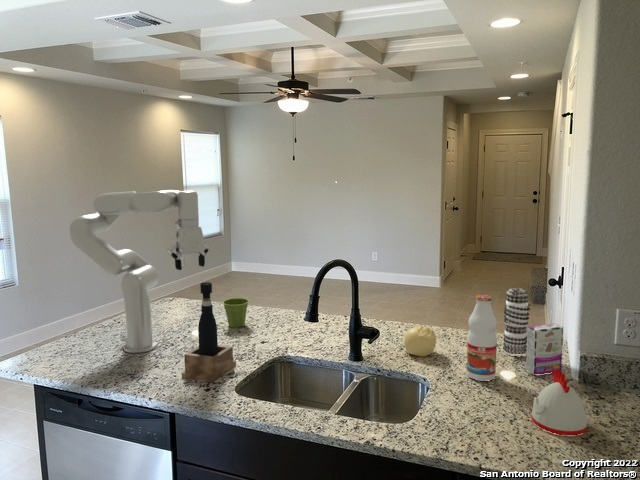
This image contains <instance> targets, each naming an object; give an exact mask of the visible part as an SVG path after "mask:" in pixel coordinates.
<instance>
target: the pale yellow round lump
mask: <svg viewBox="0 0 640 480" xmlns="http://www.w3.org/2000/svg"><path fill="white" fill-rule="evenodd" d="M436 339H437V337H436V334H435V330H433V329H432V328H430V327H427V326H424V325H421V324H420V325H419V326H414V327H412V328H410V329H408V330H407V332H406V333H405V335H404V338H403V345H404V348H405V351H406V352H407V353H408V354H409V355H413V356H418V357H427V355H428V356H429V355H430V354H432V353H434V350H435V348H436V344H437V340H436Z"/></svg>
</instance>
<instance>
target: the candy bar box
mask: <svg viewBox="0 0 640 480" xmlns="http://www.w3.org/2000/svg"><path fill="white" fill-rule="evenodd" d="M526 331H527V339H526V340H527V343H526V345H527V348H526V349H527V351H526V356H525V371H526V370H528V371H530V372H531V373H533V374H544V373H551V372H552V371H555V369H559V371H562V366H563V365H562V363H563V361H562V360H563V341H564V327H563V326H561V325H559V324H556V323H548V324H546V323H545V324H539V325H532V326H531V325H530V326H529V325H528V326H527V330H526Z"/></svg>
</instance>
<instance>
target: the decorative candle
mask: <svg viewBox="0 0 640 480" xmlns="http://www.w3.org/2000/svg"><path fill="white" fill-rule="evenodd" d="M505 293H506V300H505V305H504V306H503V309H504V310H503V313H504V316H503V317H504V319H503V322H504V324H505V328H504V333H503V337H504V338H502V339H503V342H502V345H503V346H502V351H503V350H504V351H506V352H508V353H510V354H524V353H526V351H527V327H529V322H528V320H530V317H529V316H530V313H529V311H530V310H531V308H530V306H531V304H530V303H529V295H530V294H529V292H527V290H526V289H525V288H522V287H521V288H520V287H511V288H509V289H508V290H507V291H506V292H505Z"/></svg>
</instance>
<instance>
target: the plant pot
mask: <svg viewBox="0 0 640 480" xmlns="http://www.w3.org/2000/svg"><path fill="white" fill-rule="evenodd" d="M249 302H250V300H249V299H247V298H242V297H235V298H234V297H233V298H228V299H225V300H222V304H223V307H224V310H225V314H226V319H227V323H228V326H229V327H230V328H240V327H244V326H245V325H246V316H247V309H248V305H249Z"/></svg>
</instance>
